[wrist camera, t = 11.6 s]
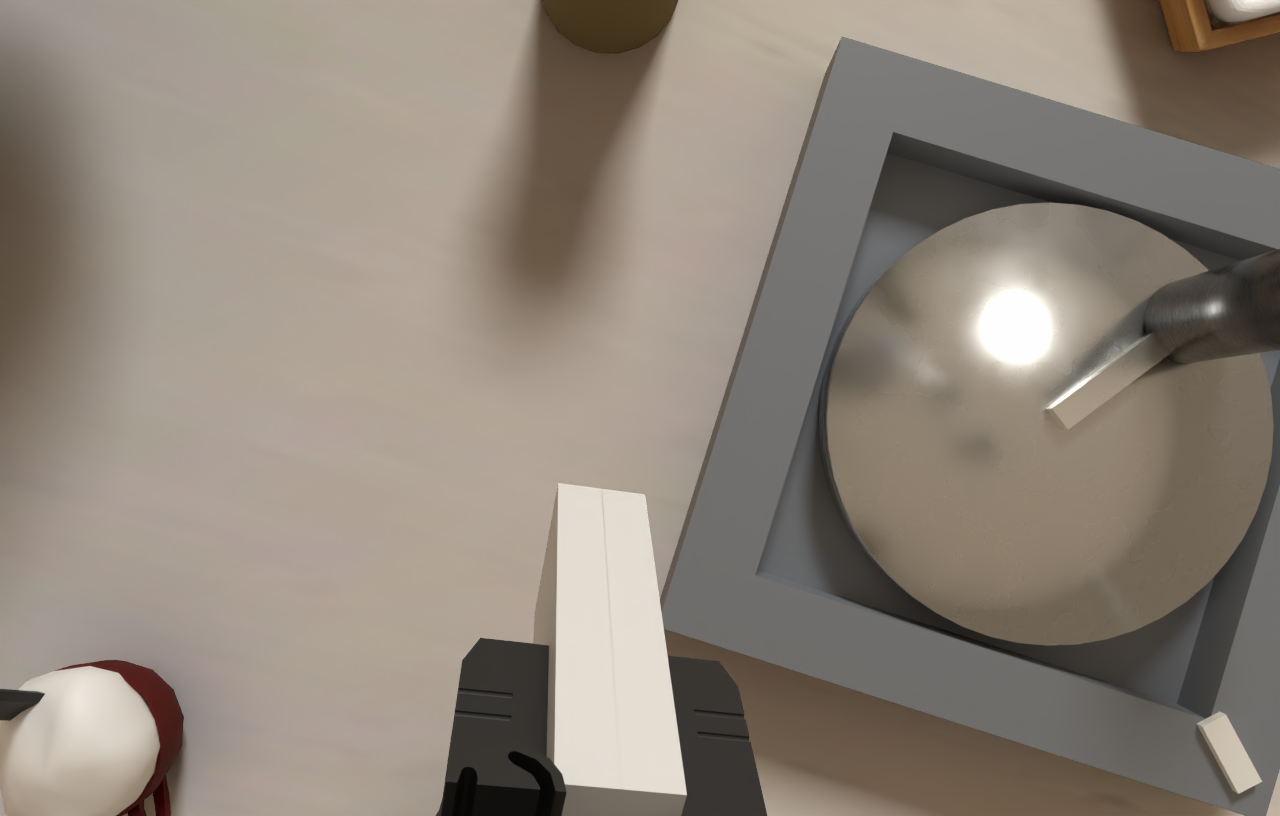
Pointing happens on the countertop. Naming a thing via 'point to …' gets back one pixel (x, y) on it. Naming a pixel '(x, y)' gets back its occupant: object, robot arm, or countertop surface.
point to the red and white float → (88, 741)
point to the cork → (610, 22)
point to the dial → (1052, 420)
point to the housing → (801, 497)
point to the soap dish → (1218, 22)
